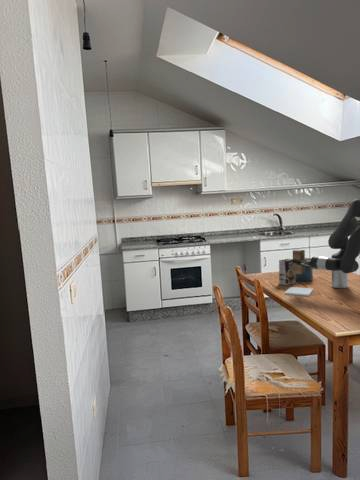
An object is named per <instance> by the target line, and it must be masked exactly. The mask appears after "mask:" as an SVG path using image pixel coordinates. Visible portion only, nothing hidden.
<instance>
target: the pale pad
mask: <svg viewBox="0 0 360 480" xmlns="http://www.w3.org/2000/svg"><path fill="white" fill-rule="evenodd" d="M313 292H314V288H309V287H308V288H307V287H306V288H305V287H295V286H294V287H293V286H290V287H288V289H286V290H285V292H284V295H291V296H302V297H310V295H312V293H313Z"/></svg>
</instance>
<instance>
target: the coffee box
mask: <svg viewBox="0 0 360 480" xmlns="http://www.w3.org/2000/svg"><path fill="white" fill-rule="evenodd" d="M292 259H293V258H286V259H279V260H278V284H279V285H283V286H290V285H293V284H296V280H295V273H293V263H292Z"/></svg>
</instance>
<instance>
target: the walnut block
mask: <svg viewBox="0 0 360 480" xmlns="http://www.w3.org/2000/svg"><path fill="white" fill-rule="evenodd" d="M305 253H306V251H305V249H300V248H299V249H296V248H295V249H293V250H292V259H296V260H301V259H305V257H306V254H305ZM303 261H304V260H303ZM293 273H295V274H303V273H305V266H302V265H297V263H293Z"/></svg>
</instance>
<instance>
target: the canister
mask: <svg viewBox="0 0 360 480" xmlns="http://www.w3.org/2000/svg"><path fill="white" fill-rule="evenodd" d="M305 258H310V256H305ZM313 271H314V270H313V268H311V266H310V265H309V266H306V265H305V273H303V274H295V281H298V282H310V281H313V279H314V273H313Z"/></svg>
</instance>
